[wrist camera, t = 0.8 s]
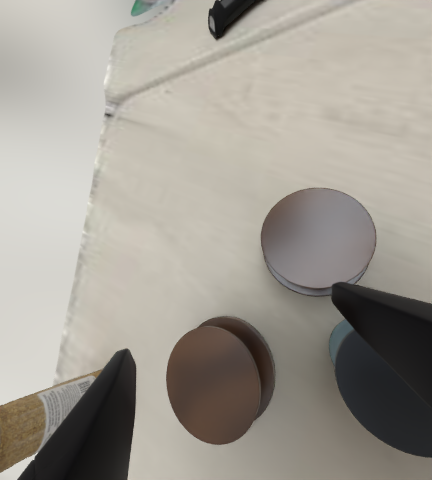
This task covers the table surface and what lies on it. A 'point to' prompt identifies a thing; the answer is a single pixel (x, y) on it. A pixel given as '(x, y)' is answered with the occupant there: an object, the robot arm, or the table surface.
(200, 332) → the brown spool
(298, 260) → the dark brown flanged piece
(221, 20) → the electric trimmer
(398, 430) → the container
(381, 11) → the table surface
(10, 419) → the sprinkles bottle
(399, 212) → the table surface
